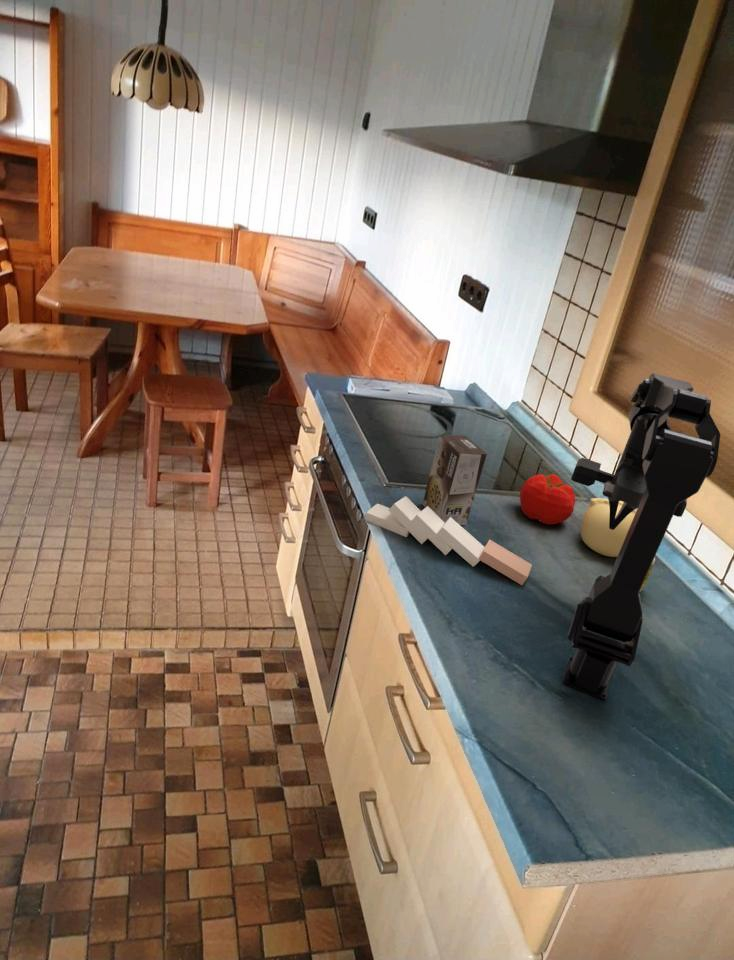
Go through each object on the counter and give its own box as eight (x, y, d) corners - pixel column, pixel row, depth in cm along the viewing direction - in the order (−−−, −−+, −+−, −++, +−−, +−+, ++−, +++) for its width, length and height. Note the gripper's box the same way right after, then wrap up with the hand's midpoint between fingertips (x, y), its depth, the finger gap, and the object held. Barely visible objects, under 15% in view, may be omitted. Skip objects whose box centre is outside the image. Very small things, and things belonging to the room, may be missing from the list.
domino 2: (427, 537, 130) (394, 503, 132) (421, 544, 131) (388, 510, 133) (438, 528, 135) (405, 496, 136) (432, 535, 136) (400, 502, 137)
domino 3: (452, 548, 129) (416, 514, 130) (445, 555, 130) (410, 521, 131) (461, 539, 133) (427, 506, 134) (455, 545, 134) (421, 512, 135)
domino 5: (527, 577, 125) (483, 551, 126) (522, 585, 126) (478, 559, 127) (532, 564, 129) (489, 539, 130) (526, 572, 130) (484, 547, 131)
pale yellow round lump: (630, 544, 149) (649, 500, 144) (630, 570, 139) (650, 524, 134) (577, 526, 152) (594, 483, 147) (573, 551, 141) (590, 505, 137)
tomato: (560, 536, 146) (574, 499, 142) (507, 514, 150) (519, 477, 146) (573, 519, 155) (586, 483, 151) (522, 498, 159) (533, 463, 155)
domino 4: (480, 560, 127) (442, 527, 128) (473, 566, 128) (436, 534, 129) (486, 548, 131) (450, 516, 132) (479, 555, 132) (444, 523, 133)
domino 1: (408, 529, 132) (366, 512, 135) (406, 538, 133) (364, 521, 136) (418, 519, 137) (377, 503, 139) (415, 528, 137) (375, 512, 140)
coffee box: (467, 525, 142) (488, 454, 135) (440, 526, 140) (460, 453, 133) (447, 503, 150) (466, 434, 143) (420, 503, 147) (438, 433, 140)
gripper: (582, 445, 112) (552, 528, 119) (702, 484, 107) (664, 568, 114) (590, 426, 122) (562, 504, 129) (700, 461, 117) (665, 540, 124)
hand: (611, 528), depth 123 cm, fingers closed
